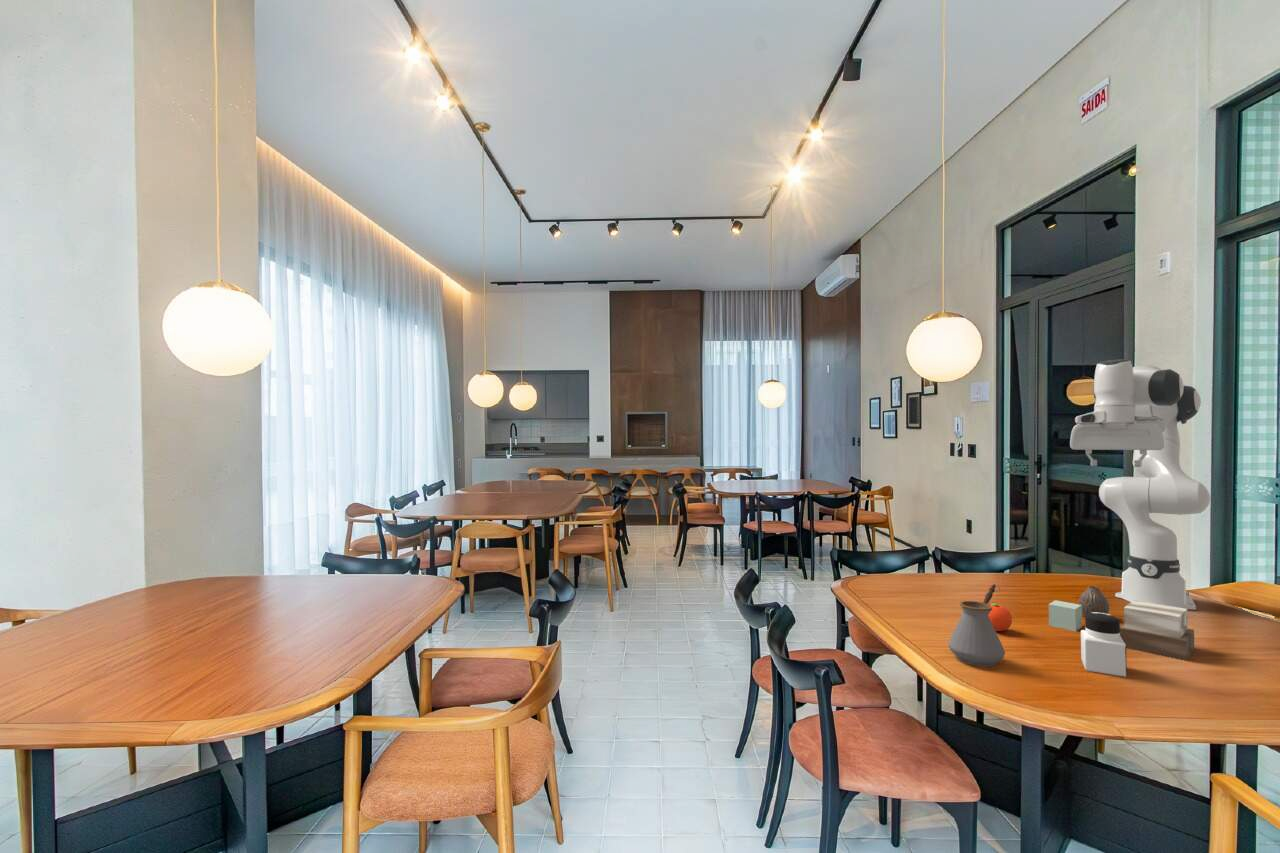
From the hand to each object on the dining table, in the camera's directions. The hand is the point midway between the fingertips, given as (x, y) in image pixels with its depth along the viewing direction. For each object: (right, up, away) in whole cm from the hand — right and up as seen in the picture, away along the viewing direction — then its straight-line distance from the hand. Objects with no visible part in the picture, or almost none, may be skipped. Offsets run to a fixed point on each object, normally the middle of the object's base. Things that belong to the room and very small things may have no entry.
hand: (1115, 466), depth 158 cm
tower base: (-5, -44, -19) cm, 48 cm away
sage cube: (-16, -44, -2) cm, 47 cm away
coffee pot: (-51, -44, -22) cm, 70 cm away
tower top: (-5, -39, -18) cm, 43 cm away
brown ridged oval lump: (-2, -44, +5) cm, 44 cm away
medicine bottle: (-29, -43, -31) cm, 61 cm away
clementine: (-37, -44, -5) cm, 58 cm away
